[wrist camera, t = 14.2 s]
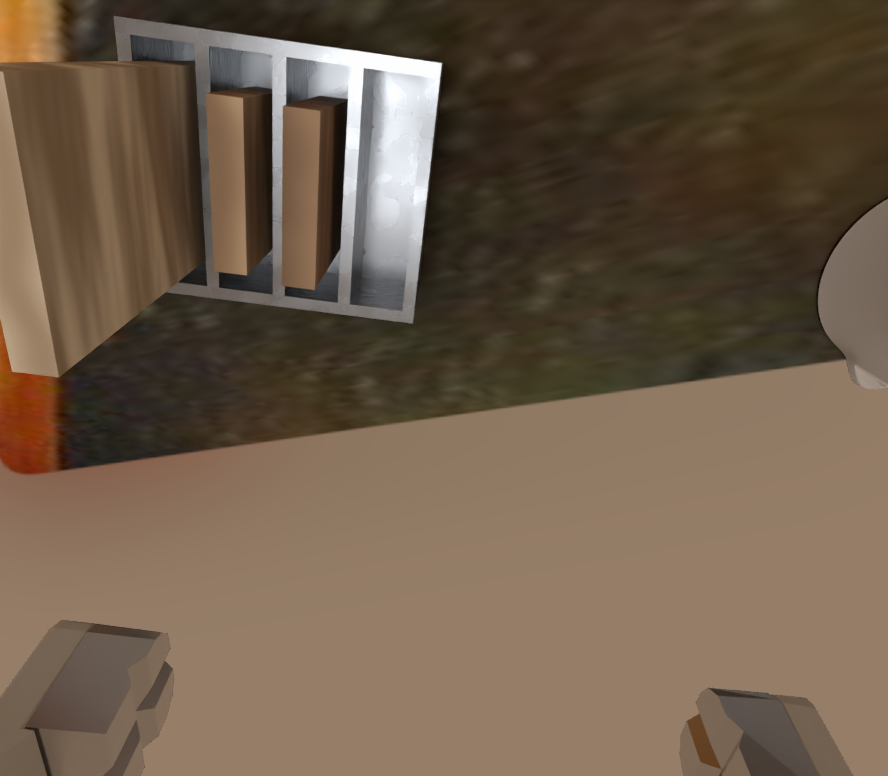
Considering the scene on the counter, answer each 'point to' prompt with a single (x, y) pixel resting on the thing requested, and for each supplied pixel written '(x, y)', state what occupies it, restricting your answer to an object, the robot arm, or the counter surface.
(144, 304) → the birch sheet
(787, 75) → the counter surface
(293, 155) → the walnut offcut
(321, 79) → the rack
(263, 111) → the oak offcut
